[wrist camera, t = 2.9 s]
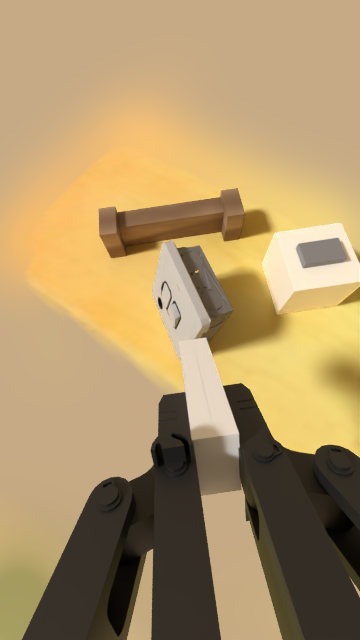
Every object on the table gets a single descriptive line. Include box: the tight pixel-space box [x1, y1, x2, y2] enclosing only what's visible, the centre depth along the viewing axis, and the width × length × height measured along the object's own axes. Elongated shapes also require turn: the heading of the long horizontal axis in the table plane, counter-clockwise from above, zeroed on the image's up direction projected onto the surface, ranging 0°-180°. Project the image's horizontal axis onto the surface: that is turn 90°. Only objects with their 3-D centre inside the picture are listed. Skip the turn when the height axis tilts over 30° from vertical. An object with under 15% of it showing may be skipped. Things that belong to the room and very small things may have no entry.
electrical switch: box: [152, 241, 233, 360], centre depth 27 cm, size 9×5×9 cm, turn 22°
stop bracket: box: [99, 188, 245, 258], centre depth 33 cm, size 4×17×4 cm, turn 98°
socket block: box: [262, 223, 360, 315], centre depth 29 cm, size 7×7×7 cm
